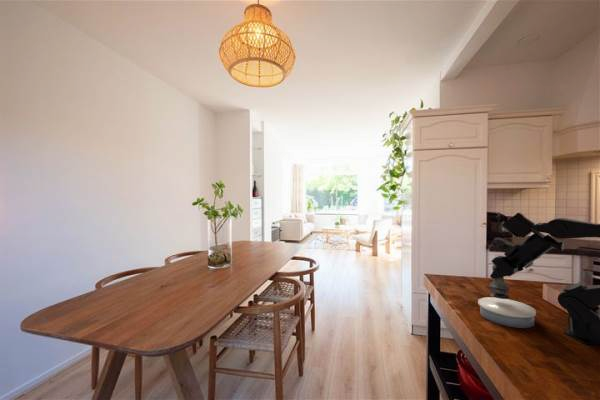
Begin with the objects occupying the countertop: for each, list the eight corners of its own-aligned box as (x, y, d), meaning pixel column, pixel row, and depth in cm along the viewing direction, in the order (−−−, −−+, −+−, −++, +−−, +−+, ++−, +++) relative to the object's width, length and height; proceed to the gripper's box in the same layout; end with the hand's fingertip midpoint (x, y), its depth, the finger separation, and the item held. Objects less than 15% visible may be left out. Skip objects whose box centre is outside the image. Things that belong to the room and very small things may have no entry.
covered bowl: (550, 329, 73) (549, 316, 73) (495, 327, 76) (495, 314, 76) (514, 308, 88) (514, 297, 88) (470, 307, 90) (469, 296, 90)
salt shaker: (491, 297, 83) (488, 263, 84) (488, 292, 88) (484, 259, 89) (513, 300, 80) (509, 264, 81) (508, 294, 85) (505, 260, 86)
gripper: (517, 228, 87) (485, 254, 96) (496, 232, 77) (461, 262, 86) (550, 252, 80) (511, 278, 89) (531, 261, 70) (490, 289, 79)
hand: (493, 276), depth 86 cm, fingers closed on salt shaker, 4 cm apart
